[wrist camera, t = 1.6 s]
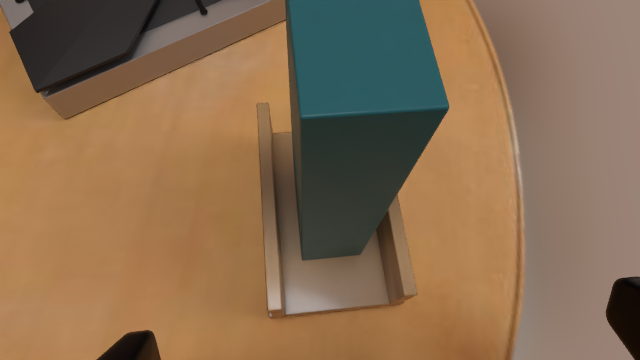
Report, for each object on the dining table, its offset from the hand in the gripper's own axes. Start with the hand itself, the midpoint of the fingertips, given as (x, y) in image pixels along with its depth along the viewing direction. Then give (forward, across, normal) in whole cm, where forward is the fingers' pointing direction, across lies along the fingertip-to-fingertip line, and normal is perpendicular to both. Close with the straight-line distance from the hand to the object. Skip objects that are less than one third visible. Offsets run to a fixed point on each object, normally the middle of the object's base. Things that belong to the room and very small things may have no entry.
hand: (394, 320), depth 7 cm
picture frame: (+27, +9, -9) cm, 30 cm away
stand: (+13, 0, +4) cm, 14 cm away
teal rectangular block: (+12, 0, +4) cm, 13 cm away
